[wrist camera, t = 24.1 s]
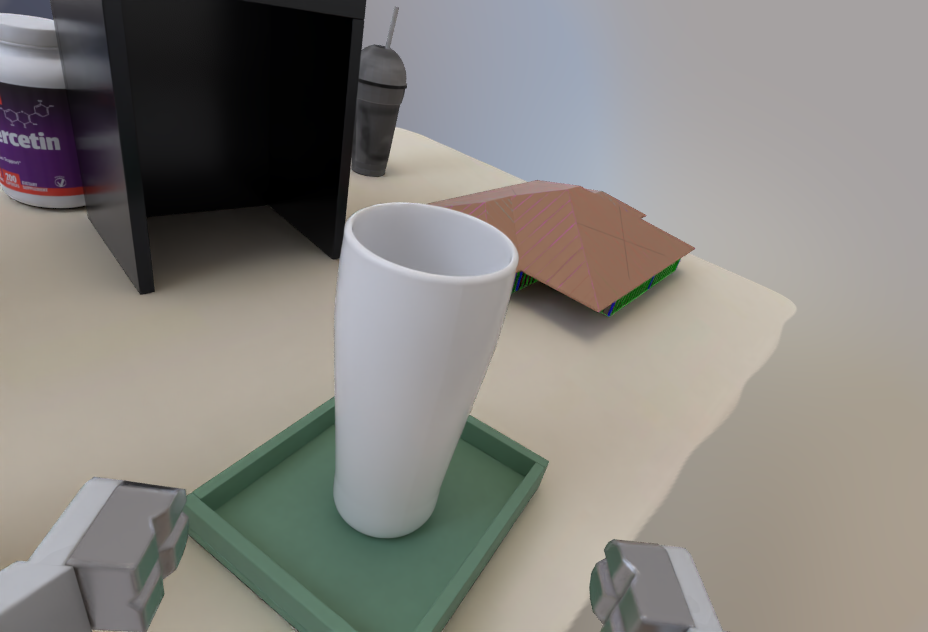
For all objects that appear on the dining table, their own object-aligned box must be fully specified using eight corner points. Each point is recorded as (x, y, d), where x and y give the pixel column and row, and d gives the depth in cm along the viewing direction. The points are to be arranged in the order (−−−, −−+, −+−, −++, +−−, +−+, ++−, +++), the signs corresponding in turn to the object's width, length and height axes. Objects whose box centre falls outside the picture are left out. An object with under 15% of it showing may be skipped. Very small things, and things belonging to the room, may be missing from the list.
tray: (388, 711, 20) (395, 684, 19) (182, 529, 25) (179, 500, 24) (539, 485, 31) (549, 461, 30) (378, 388, 36) (382, 363, 35)
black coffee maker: (342, 258, 50) (368, -22, 38) (140, 295, 39) (90, -83, 27) (272, 200, 58) (277, -47, 46) (87, 218, 47) (31, -102, 35)
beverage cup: (339, 158, 75) (353, -5, 64) (391, 165, 77) (412, 8, 67) (342, 175, 69) (357, -1, 59) (398, 182, 71) (422, 14, 61)
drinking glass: (409, 584, 24) (481, 304, 16) (288, 514, 26) (301, 230, 18) (468, 484, 30) (543, 239, 22) (365, 432, 31) (401, 188, 24)
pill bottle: (-22, 199, 46) (-75, 9, 38) (47, 172, 52) (13, 7, 45) (74, 220, 46) (40, 36, 39) (130, 191, 53) (110, 30, 45)
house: (691, 267, 67) (720, 206, 63) (561, 361, 43) (594, 273, 39) (540, 199, 77) (557, 143, 73) (369, 245, 53) (379, 166, 49)
